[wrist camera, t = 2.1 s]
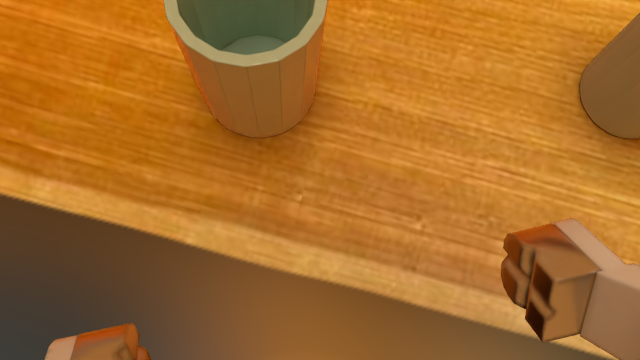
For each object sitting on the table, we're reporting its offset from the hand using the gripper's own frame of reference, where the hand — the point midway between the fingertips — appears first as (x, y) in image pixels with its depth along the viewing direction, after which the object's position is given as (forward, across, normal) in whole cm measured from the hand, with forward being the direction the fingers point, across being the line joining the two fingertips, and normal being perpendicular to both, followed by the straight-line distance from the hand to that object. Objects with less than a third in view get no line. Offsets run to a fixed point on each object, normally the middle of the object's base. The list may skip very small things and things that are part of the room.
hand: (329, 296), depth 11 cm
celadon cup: (+19, 0, +2) cm, 19 cm away
